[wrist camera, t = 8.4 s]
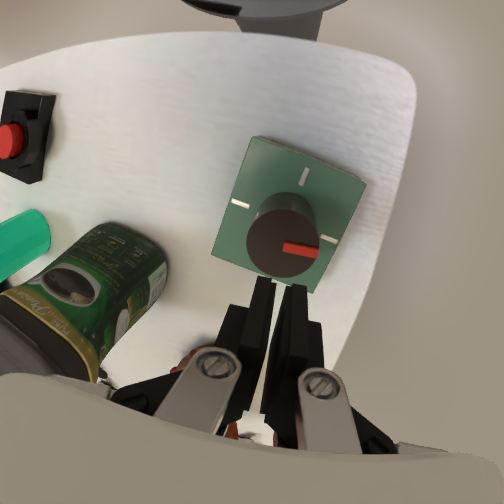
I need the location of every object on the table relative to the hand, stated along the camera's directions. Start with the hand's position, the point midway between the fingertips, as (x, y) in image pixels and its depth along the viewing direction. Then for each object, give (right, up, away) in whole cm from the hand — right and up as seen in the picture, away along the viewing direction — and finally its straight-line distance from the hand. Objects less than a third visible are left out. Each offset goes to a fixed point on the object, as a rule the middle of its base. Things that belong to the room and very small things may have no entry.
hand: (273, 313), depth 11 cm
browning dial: (+2, +5, +11) cm, 12 cm away
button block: (-27, +16, +14) cm, 34 cm away
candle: (-28, +5, +19) cm, 34 cm away
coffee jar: (-14, +1, +18) cm, 23 cm away
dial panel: (+2, +6, +14) cm, 15 cm away
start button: (-26, +14, +10) cm, 31 cm away
